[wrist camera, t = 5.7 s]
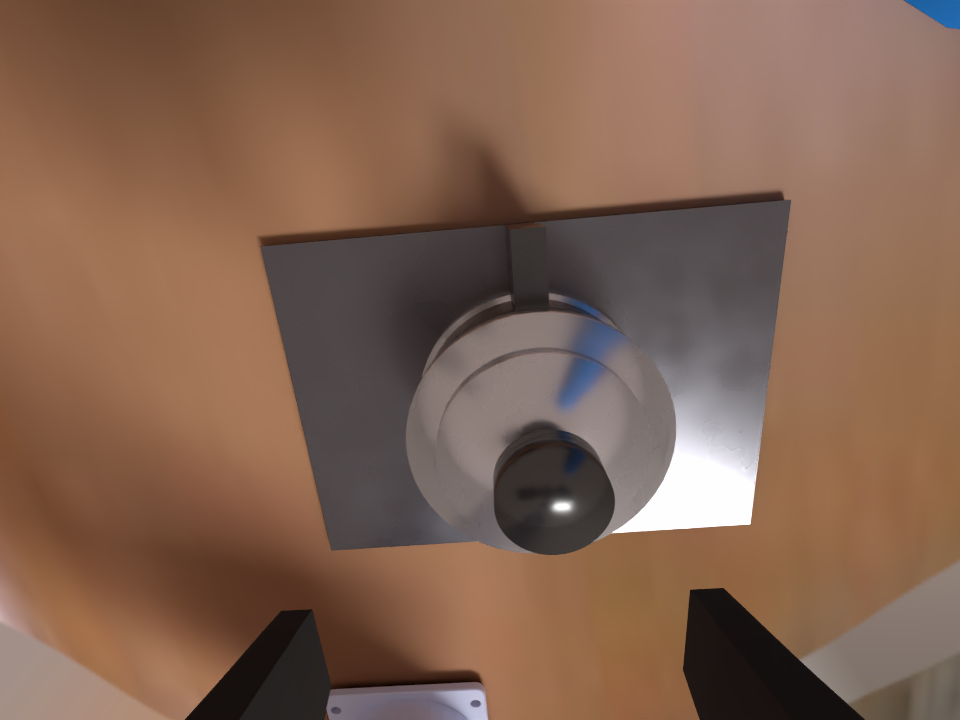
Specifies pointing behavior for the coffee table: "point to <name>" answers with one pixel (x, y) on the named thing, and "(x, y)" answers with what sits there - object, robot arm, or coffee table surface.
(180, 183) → the coffee table surface
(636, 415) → the silver lid with knob
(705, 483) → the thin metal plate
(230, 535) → the coffee table surface
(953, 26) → the thermos
